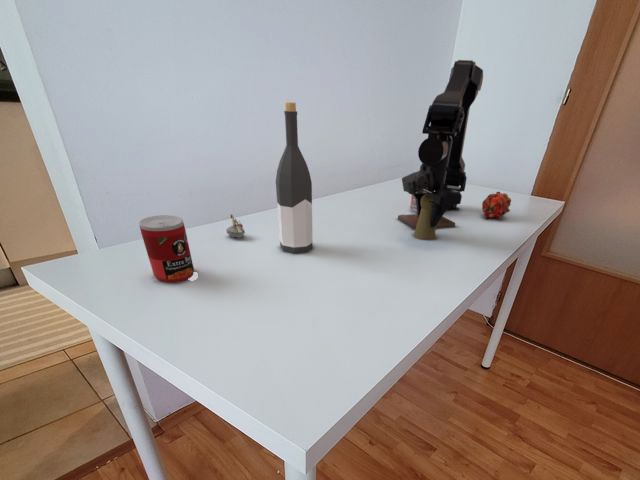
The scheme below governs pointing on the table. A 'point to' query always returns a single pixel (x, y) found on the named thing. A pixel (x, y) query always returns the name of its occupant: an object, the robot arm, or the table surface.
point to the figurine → (235, 229)
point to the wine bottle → (294, 191)
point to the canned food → (167, 248)
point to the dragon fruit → (496, 205)
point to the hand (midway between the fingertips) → (426, 223)
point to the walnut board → (413, 219)
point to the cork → (425, 220)
